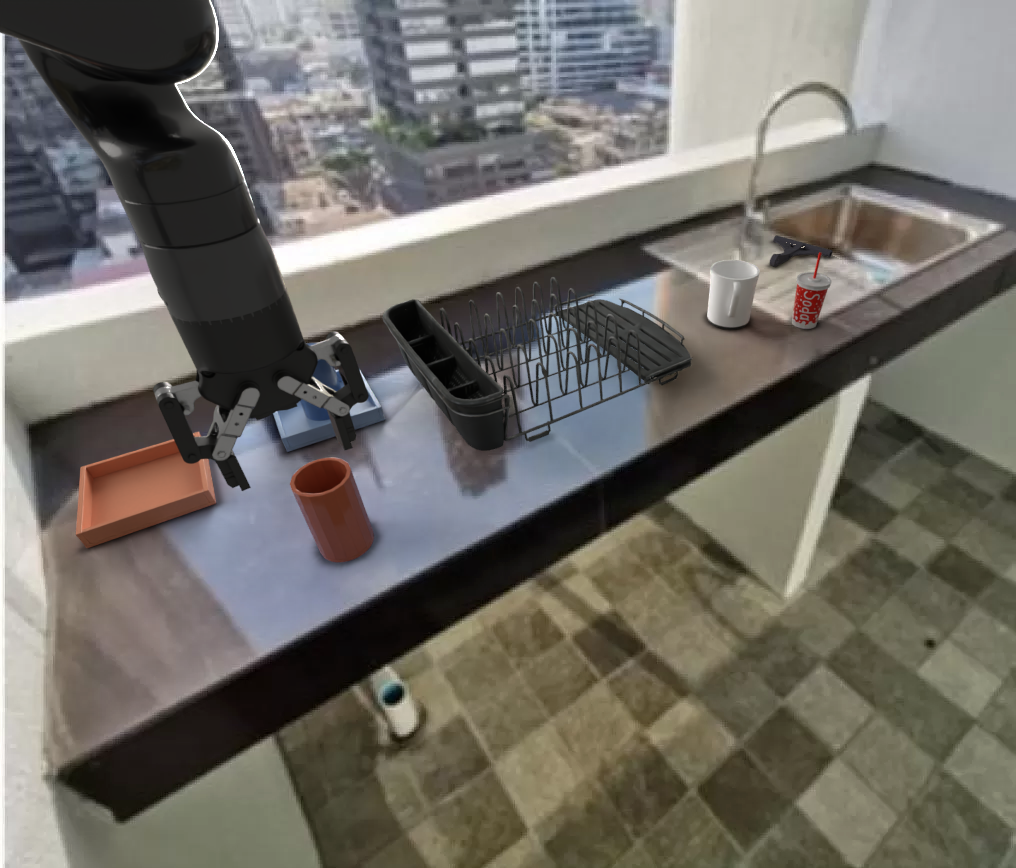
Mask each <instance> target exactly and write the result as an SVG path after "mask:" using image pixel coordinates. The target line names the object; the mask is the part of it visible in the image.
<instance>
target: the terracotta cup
mask: <svg viewBox="0 0 1016 868" xmlns="http://www.w3.org/2000/svg"><path fill="white" fill-rule="evenodd" d="M289 486H290V489H291V492H292V494H293V496H294V499H295V500H296V503H297V505H298V507H299V510H300V512H301V514H302V516H303V518H304V520H305V523H306V526H307V528H308V529H309V531H310V533H311V535H312V538H313V540H314V542H315V544H316V547H317V548H318V550H319V553H320V554H321V556H322V557H323V558H324V559H325V560H327V561H329V562H332V563H347V562H350V561H354V560H356V559H358V558H360V557H361V556H363V555H364V554H365V553H367V552H368V551H369V549H370V548H371V547H372V545H373V544H374V541H375V532H374V529H373V526H372V524H371V521H370V518H369V515H368V512H367V509H366V507H365V504H364V501H363V499H362V495H361V493H360V490H359V488H358V485H357V482H356V479H355V476H354V474H353V471H352V468H351V465H350V464H349V462H347V461H345V460H344V459H342V458H338V457H323V458H318V459H316V460H311V461H309V462H307V463H306V464H304V465H302V466H300V467H299V468H298V469H297V470H296V471H295V472H294V473H293V474H292V475H291V479H290V482H289Z"/></svg>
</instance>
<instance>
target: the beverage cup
mask: <svg viewBox="0 0 1016 868" xmlns="http://www.w3.org/2000/svg"><path fill="white" fill-rule="evenodd" d="M821 254H822V252H819V255H817V260H816V263H815V268H814V271H813V272H812V271H805V272H801V273H799V274H797V276H796V280H795V282H796V287H795V288H796V289H795V296H794V302H793V309H792V310H793V311H792V316H791V324H792V325H793V327H796V328H799V329H804V330H810V329H814V328H816V327H817V323H818V321H819V317H820V315H821V312H822V309H823V305H824V302H825V300H826V296H827V293H828V290H829V289H830V287H831V284H832V282H833V281H832V278H831V277H830V276H828V275H826V274H824V273H821V272H818V271H819V266H820V262H821V258H822V256H821Z"/></svg>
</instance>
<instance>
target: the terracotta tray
mask: <svg viewBox="0 0 1016 868" xmlns="http://www.w3.org/2000/svg"><path fill="white" fill-rule="evenodd" d="M192 433H193V435H194V437H200V436H202V435H201V433H200V431H195V432H192ZM78 484H79V485H78V497H77V513H76V524H75V536H76V537H77V538H78V540H79V541H80V542H81V543H82V544H83V546H84V547H85V548H86V549H89V548H92V547H95V546H98V545H102V544H104V543H106V542H109V541H112V540H113V541H114V540H116V539H118V538H121V537H125V536H126V535H130V534H132V533H135V532H139V531H141V530H144V529H147V528H151V527H153V526H156V525H159V524H161V523H164V522H167V521H170V520H173V519H176V518H179V517H181V516H185V515H188V514H191V513H193V512H196V511H199V510H203V509H205V508H208V507H210V506H213V505H216V504H217V499H216V494H215V488H214V482H213V478H212V471H211V465H210V459H200V461H198V462H197V463H194V464H189V463H186V462H184V460H183V458H182V456H181V454H180V452H179V450H178V447H177V445H176V443H175V441H174V439H173V438H172V439H169V440H166V441H162V442H159V443H157V444H152V445H150V446H149V445H148V446H145V447H143V448H139V449H137V450H133V451H129V452H126V453H122V454H120V455H116V456H112V457H110V458H106V459H102V460H100V461H96V462H92V463H90V464H86V465H83V466H80V470H79V483H78Z"/></svg>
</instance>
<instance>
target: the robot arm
mask: <svg viewBox="0 0 1016 868" xmlns="http://www.w3.org/2000/svg"><path fill="white" fill-rule="evenodd" d="M0 34H3V35H6V36H8V37H11V38H14V39H17V40H18V42H19V44H20V45H21V47H22V49H23V51H24V52H25V54H26V56H27V57H28V59H29V61H30V62H31V64H32V65H33V67H34V69H35V70H36V71H37V73H38V75H39V77H41V79H42V80H43V82H44V84H45V85H46V87H47V88H48V89H49V90H50V92H51V93H52V95H53V96H54V98H55V99H56V101H57V102H58V104H59V105H60V106H61V108H62V109H63V111H64V112H65V114H66V115H67V117H68V118H69V119H70V121H71V123H72V124H73V126H74V127H75V128H76V129H77V131H78V133H80V135H81V136H82V138H83V139H84V140H85V141H86V143H88V145H89V146H90V147H91V149H92V150H93V152H94V153H95V155H96V156H97V157H98V158H99V160H100V162H101V163H102V164H103V166H104V168H105V170H106V172H107V174H108V176H109V178H110V179H109V180H110V182H111V184H112V186H113V189H114V191H115V193H116V195H117V198H118V200H119V202H120V203H121V206H122V208H123V210H124V212H125V214H126V216H127V218H128V220H129V223H130V225H131V226H132V229H133V231H134V233H135V235H136V237H137V239H138V241H139V244H140V246H141V249H142V252H143V255H144V258H145V261H146V264H147V268H148V271H149V275H150V276H151V278H152V280H153V283H154V285H155V287H156V290H157V293H158V295H159V298H160V299H161V300H162V301H163V303H164V306H165V307H166V308H165V309H166V310H167V312H168V313H169V316H170V318H171V320H172V322H173V325H174V326H175V328H176V331H177V333H178V335H179V337H180V338H181V341H182V343H183V344H184V347H185V349H186V351H187V354H188V355H189V357H190V359H191V361H192V363H193V365H194V368H195V370H196V376H195V379H194V380H193V381H188V382H184V383H181V384H177V385H172V384H171V383H170V382H167V381H161V382H157V383H156V384H155V385H154V386H153V387H152V388H153V389H152V391H153V394H154V396H155V400H156V402H157V405H158V408H159V410H160V412H161V415H162V417H163V419H164V421H165V424H166V425H167V428H168V430H169V433H170V434H171V437H172V440H173V439H174V441H175V443H176V445H177V447H178V450H179V452H180V454H181V456H182V458H183V460H184V462H186V463H189V464H194V463H197V462H198V461H200V459H209V460H212V461H214V463H215V464H216V465H217V467H218V469H219V471H220V473H221V474H222V476H223V479H224V481H225V482H226V484H227V486H229V487H231V489H234V488H236V487H239V489H240V491H241V492H244V491H246V490H249V489H251V488H252V487H251V485H250V482H249V480H248V478H247V476H246V474H245V472H244V470H243V468H242V466H241V464H240V461H239V460H238V458H237V456H236V454H235V452H234V450H233V449H234V447H235V445H236V442H237V440H238V438H241V437H242V435H243V433H244V430H245V428H246V426H247V423H248V422H249V419H255V420H256V421H260V420H262V419H266V418H268V417H270V416H272V415H273V413H275V412H276V411H282V410H289V409H291V408H294V407H297V403H298V402H300V401H301V400H302V399H303V400H305V401H307V402H309V403H311V404H313V405H315V406H317V407H319V408H324V409H326V410H327V412H328V415H329V417H330V420H331V423H332V426H333V429H334V432H335V435H336V436H335V437H336V440H337V442H338V444H339V446H340V447H341V448H342V449H343V451H344V452H346V451H348V450H351V449H353V444H352V443H353V442H355V441H356V440H357V433H356V430H355V429H354V426H353V422H352V419H351V416H350V409H351V408H352V407H353V406H354V405H355V404H357V403H363V402H365V401H367V399H368V397H369V395H368V392H367V389H366V386H365V384H364V381H363V378H362V375H361V373H360V371H361V369H360V367H359V365H358V362H357V359H356V356H355V354H354V351H353V348H352V346H351V344H349V342H348V341H347V339H345V338H344V336H343V335H342V334H341V333H340V332H338V331H330V332H329V333H328V334H327V335H326V337H325V340H323V341H320V342H316V343H317V344H314V345H311V346H309V345H308V344H307V343H306V341H305V338H304V336H303V333H302V330H301V327H300V324H299V321H298V319H297V316H296V315H297V314H296V312H295V309H294V306H293V303H292V301H291V297H290V294H289V292H288V289H287V286H286V283H285V280H284V277H283V275H282V271H281V268H280V266H279V263H278V260H277V257H276V254H275V251H274V249H273V247H272V244H271V243H270V241H269V239H268V236H267V235H266V233H265V231H264V228H263V226H262V224H261V222H260V219H259V216H258V213H257V211H256V208H255V205H254V202H253V200H252V196H251V194H250V190H249V188H248V184H247V182H246V179H245V175H244V173H243V170H242V167H241V165H240V162H239V160H238V157H237V155H236V153H235V151H234V149H233V147H232V145H231V144H230V142H229V140H228V139H227V138H225V136H224V135H223V134H221V133H220V132H219V131H217V130H216V129H214V128H213V127H211V126H210V125H208V124H206V123H204V121H202V120H200V119H199V118H198V117H197V116H196V115H195V114H194V113H193V112H192V111H191V109H190V108H189V106H188V104H187V103H186V101H185V99H184V97H183V95H182V93H181V91H180V90H179V88H178V86H177V85H178V84H182V83H185V82H189V81H191V80H193V79H194V78H196V77H197V76H199V75H201V74H202V73H203V72H204V71H205V70H206V69H207V68H208V66H209V65H210V64H211V62H212V60H213V59H214V57H215V55H216V51H217V49H218V43H219V25H218V19H217V15H216V11H215V8H214V5H213V2H212V0H0ZM319 359H323V360H326V361H327V363H328V364H329V365H330V366H333V367H336V368H337V370H338V371H339V373H340V376H341V378H342V381H343V384H344V387H342V388H341V389H339V390H338V391H335V390H333V389H331V388H329V387H328V386H326V385H324V384H322V383H321V382H320V381H318V380H317V379H316V378H314V377H312V376H313V374H314V371H315V369H316V366H317V364H318V360H319ZM359 369H360V370H359ZM199 398H203V399H204V400H205V401H207V402H209V403H212V404H214V405H216V406H215V408H214V411H213V417H212V422H211V425H210V427H209V430H208V432H207V434H206V435H201V436H200V437H194V435H193V433H194V432H193V430H192V428H191V426H190V424H189V421H188V419H187V417H188V416H190V415H191V414H192V413H193V412H195V409H196V408H195V402H196V401H197V400H198V399H199ZM186 416H187V417H186Z"/></svg>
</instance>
